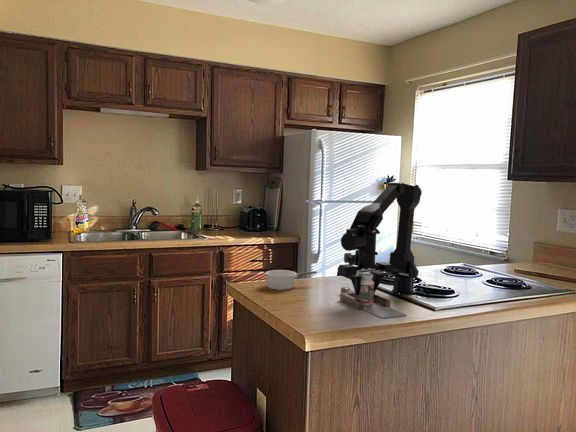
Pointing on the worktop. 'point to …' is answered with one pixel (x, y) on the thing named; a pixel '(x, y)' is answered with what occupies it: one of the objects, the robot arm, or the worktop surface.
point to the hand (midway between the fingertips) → (364, 294)
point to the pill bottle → (366, 289)
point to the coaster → (386, 312)
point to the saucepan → (283, 279)
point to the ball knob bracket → (350, 299)
